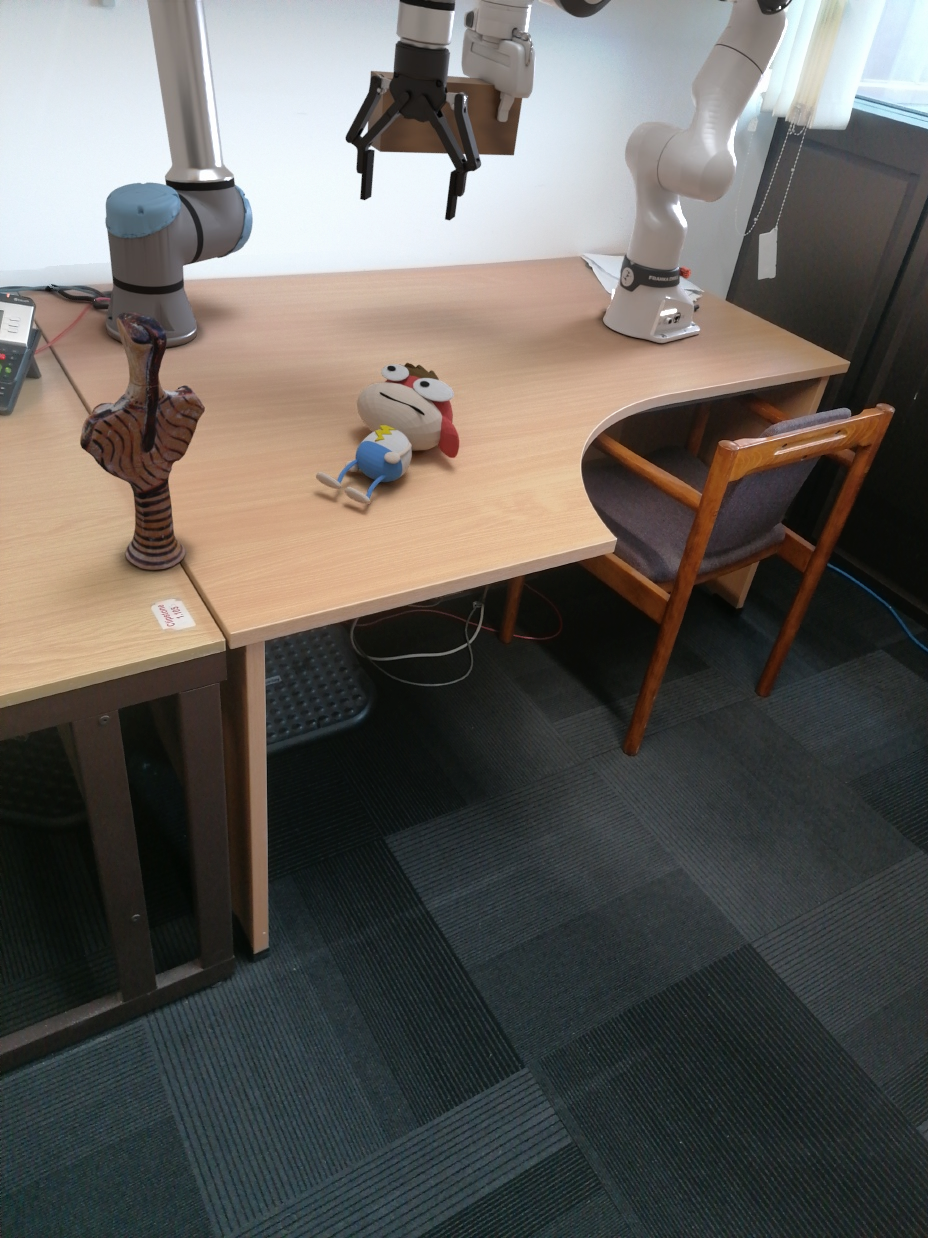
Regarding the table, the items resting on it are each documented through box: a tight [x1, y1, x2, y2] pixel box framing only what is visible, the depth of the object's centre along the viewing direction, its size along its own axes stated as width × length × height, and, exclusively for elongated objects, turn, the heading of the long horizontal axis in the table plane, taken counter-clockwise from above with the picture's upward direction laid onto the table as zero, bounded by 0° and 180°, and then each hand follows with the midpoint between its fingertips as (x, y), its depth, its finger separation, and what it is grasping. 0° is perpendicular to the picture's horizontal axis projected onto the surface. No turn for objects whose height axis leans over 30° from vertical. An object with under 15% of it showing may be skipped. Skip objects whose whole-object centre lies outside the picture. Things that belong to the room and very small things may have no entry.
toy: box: [315, 362, 460, 505], centre depth 132 cm, size 18×10×30 cm
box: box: [367, 70, 523, 156], centre depth 155 cm, size 26×6×11 cm, turn 117°
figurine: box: [79, 312, 206, 571], centre depth 99 cm, size 15×8×30 cm, turn 144°
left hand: (407, 208), depth 134 cm, fingers open, 13 cm apart
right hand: (490, 115), depth 159 cm, fingers closed on box, 6 cm apart
